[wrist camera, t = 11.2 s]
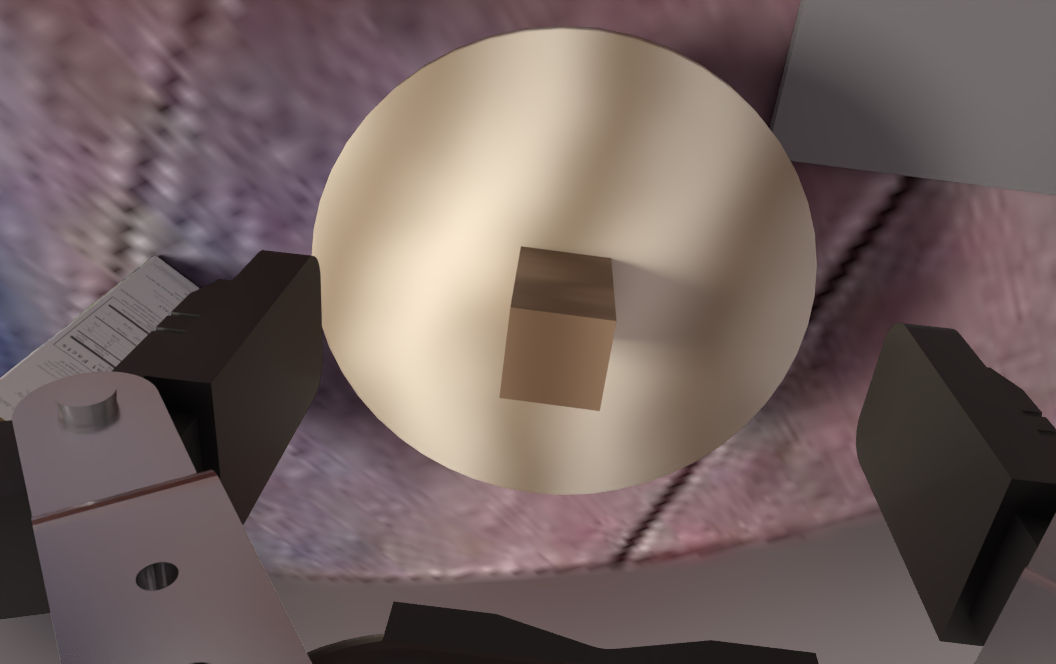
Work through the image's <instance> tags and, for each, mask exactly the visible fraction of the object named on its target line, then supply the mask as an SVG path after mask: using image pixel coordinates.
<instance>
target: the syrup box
mask: <svg viewBox="0 0 1056 664" xmlns="http://www.w3.org/2000/svg"><path fill="white" fill-rule="evenodd" d="M198 289H200V288H198V287H197V286H196V285H195V284H193V283H192V282H191V281H189V280H188V279H187V278H185V277H184V276H182V275H181V274H180V273H178V272H177V271H176V270H175V269H173V268H172V267H170V266H169V265H168V264H166V263H165V262H164V261H163V260H161V259H160V258H159V257H157V256H153V257H152V258H150V259H149V260H148V261H147V262H145V263H144V264H143V265H142V266H140V267H139V268H138V269H136V270H135V271H134V272H133V273H131V274H130V275H129V276H128V277H126V278H125V279H124V280H122V281H121V282H120V283H119V284H117V285H116V286H115V287H114V288H113V289H111V290H110V291H109V292H107V293H106V294H105V295H104V296H103V297H101V298H100V299H99V300H98V301H96V302H95V303H94V304H92V305H91V306H90V307H89V308H88V309H86V310H85V311H84V312H83V313H81V314H80V315H79V316H78V317H76V318H75V319H74V320H73V321H71V322H70V323H69V324H68V325H67V326H65V327H64V328H63V329H62V330H61V331H59V332H58V333H57V334H55V335H54V336H53V337H51V338H50V339H49V340H47V341H46V342H45V343H44V344H42V345H41V346H40V347H39V348H37V349H36V350H35V351H33V352H32V353H31V354H30V355H29V356H27V357H26V358H25V359H24V360H22V361H21V362H20V363H19V364H17V365H16V366H15V367H14V368H12V369H11V370H10V371H9V372H7V373H6V374H5V375H4V376H2V377H1V378H0V421H8V420H12V414H13V412H14V409H15V407H16V406H17V404H18V403H19V402H20V401H21V400H22V399H23V398H24V397H25V396H26V395H28V394H29V393H31V392H32V391H33V390H35V389H37V388H39V387H41V386H43V385H45V384H47V383H50V382H52V381H55V380H58V379H61V378H64V377H68V376H72V375H76V374H82V373H89V372H101V371H108V372H111V371H112V370H113V369H114V368H115V367H116V366H117V365H118V364H119V363H120V362H121V361H122V360H123V359H124V358H125V357H126V356H127V355H128V354H129V353H130V352H131V351H132V350H133V349H134V348H135V347H136V346H137V345H138V344H139V343H140V342H141V341H142V340H143V339H144V338H145V337H146V336H147V335H148V334H149V333H150V332H151V331H156V326H157V325H158V324H159V323H160V322H161V321H162V320H163V319H164V318H165V317H166V316H167V315H169V316H171V311H172V310H173V309H174V308H175V307H177V306H178V305H179V304H180V303H181V302H182V301H183V300H184V299H185V298H186V297H187V296H188V295H189V294H190V293H192V292H194V291H196V290H198Z"/></svg>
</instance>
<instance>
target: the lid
mask: <svg viewBox="0 0 1056 664" xmlns="http://www.w3.org/2000/svg"><path fill="white" fill-rule="evenodd" d="M312 256H315V257H316V258H317V260H318V262H319V266H320V274H321V307H322V328H323V331H324V333H325V336H326V339H327V342H328V345H329V347H330V349H331V351H332V353H333V355H334V357H335V359H336V361H337V363H338V365H339V367H340V369H341V371H342V373H343V374H344V376H345V377H346V379H347V380H348V382H349V383H350V384H351V386H352V387H353V389H354V390H355V392H356V393H357V395H358V396H359V397H360V399H361V400H362V401H363V402H364V403H365V404H366V405H367V407H368V408H369V409H370V410H371V411H372V412H373V413H374V415H375V416H376V417H377V418H378V419H379V420H380V421H381V422H383V423H384V424H385V425H386V426H387V427H388V428H389V429H390V430H391V431H393V432H394V433H395V434H396V435H397V436H398V437H399V438H401V439H402V440H404V441H405V442H406V443H408V444H409V445H411V446H412V447H413V448H415V449H416V450H418V451H419V452H420V453H422V454H423V455H425V456H427V457H429V458H431V459H432V460H434V461H436V462H438V463H440V464H442V465H443V466H445V467H447V468H449V469H452V470H454V471H456V472H459V473H461V474H463V475H466V476H468V477H471V478H473V479H476V480H479V481H483V482H486V483H489V484H493V485H496V486H500V487H504V488H509V489H514V490H520V491H525V492H532V493H544V494H557V495H563V494H590V493H598V492H605V491H612V490H618V489H622V488H627V487H631V486H635V485H639V484H643V483H646V482H649V481H652V480H654V479H657V478H660V477H663V476H665V475H668V474H671V473H673V472H675V471H677V470H679V469H681V468H683V467H685V466H687V465H689V464H691V463H693V462H695V461H697V460H699V459H701V458H702V457H704V456H705V455H707V454H708V453H710V452H711V451H713V450H715V449H716V448H718V447H719V446H721V445H722V444H724V443H725V442H726V441H727V440H728V439H730V438H731V437H732V436H733V435H734V434H736V433H737V432H738V431H739V430H740V429H742V428H743V427H744V426H745V425H746V424H747V423H748V422H749V421H750V420H751V419H752V418H753V417H754V416H755V415H756V414H757V413H758V411H759V410H760V409H761V408H762V407H763V406H764V405H765V404H766V403H767V401H768V400H769V399H770V397H771V396H772V394H773V393H774V392H775V390H776V389H777V388H778V386H779V385H780V383H781V382H782V381H783V379H784V377H785V375H786V373H787V372H788V370H789V368H790V366H791V364H792V362H793V361H794V359H795V357H796V355H797V353H798V350H799V348H800V345H801V342H802V340H803V337H804V335H805V332H806V329H807V327H808V323H809V318H810V314H811V310H812V305H813V301H814V296H815V284H816V272H817V258H816V242H815V232H814V227H813V223H812V218H811V214H810V209H809V204H808V201H807V198H806V196H805V193H804V190H803V188H802V185H801V182H800V180H799V177H798V175H797V172H796V170H795V168H794V167H793V165H792V163H791V161H790V159H789V158H788V156H787V154H786V152H785V151H784V149H783V147H782V145H781V143H780V142H779V141H778V139H777V138H776V137H775V135H774V134H773V133H772V131H771V130H770V129H769V128H768V126H767V125H766V124H765V122H764V121H763V120H762V119H761V117H760V116H759V115H758V113H757V112H756V111H755V110H754V109H753V108H752V107H751V106H750V105H749V104H748V103H747V102H746V101H745V100H744V99H743V98H742V97H741V96H740V95H739V94H738V93H737V92H736V91H735V90H734V89H733V88H732V87H731V86H730V85H729V84H727V83H726V82H724V81H723V80H722V79H720V78H719V77H717V76H716V75H715V74H713V73H712V72H711V71H709V70H708V69H706V68H705V67H704V66H702V65H701V64H699V63H697V62H695V61H693V60H691V59H690V58H688V57H686V56H684V55H682V54H680V53H678V52H676V51H674V50H672V49H670V48H668V47H666V46H663V45H660V44H657V43H654V42H652V41H649V40H646V39H643V38H640V37H638V36H635V35H630V34H625V33H620V32H616V31H611V30H606V29H601V28H590V27H575V26H551V27H538V28H525V29H520V30H516V31H511V32H507V33H502V34H497V35H493V36H489V37H486V38H483V39H481V40H478V41H475V42H473V43H470V44H467V45H464V46H462V47H459V48H456V49H454V50H453V51H451V52H449V53H447V54H445V55H443V56H441V57H439V58H438V59H436V60H434V61H432V62H430V63H428V64H426V65H425V66H423V67H422V68H421V69H419V70H418V71H417V72H415V73H414V74H413V75H411V76H410V77H408V78H407V79H406V80H404V81H403V82H402V83H400V84H399V85H398V86H397V87H396V88H395V89H394V90H393V91H392V92H391V93H390V94H389V95H387V96H386V97H385V98H384V99H383V100H382V101H381V102H380V103H379V104H378V105H377V106H376V107H375V108H374V109H373V110H372V111H371V112H370V113H369V114H368V115H367V117H366V118H365V119H364V121H363V122H362V123H361V125H360V126H359V127H358V128H357V130H356V131H355V132H354V134H353V135H352V136H351V138H350V139H349V140H348V142H347V143H346V145H345V147H344V149H343V151H342V152H341V154H340V156H339V158H338V160H337V161H336V163H335V165H334V167H333V169H332V170H331V173H330V176H329V178H328V181H327V184H326V186H325V189H324V192H323V194H322V197H321V199H320V204H319V208H318V213H317V217H316V222H315V226H314V232H313V246H312Z"/></svg>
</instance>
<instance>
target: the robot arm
mask: <svg viewBox="0 0 1056 664" xmlns="http://www.w3.org/2000/svg"><path fill="white" fill-rule="evenodd" d="M322 362H323V343H322V307H321V274H320V266H319V262H318V260H317V258H316V257H315V256H310V255H301V254H292V253H283V252H274V251H265V250H262V251H260V252H259V253H258V254H257V255H256V256H255V257H254V258H253V259H252V260H251V261H250V262H249V263H248V264H247V265H246V266H245V268H244V269H243V270H242V271H241V272H240V273H239V274H238V275H237V276H236V277H235V278H234V279H233V280H232V281H231V280H222V279H220V280H218V281H216V282H213V283H211V284H209V285H207V286H205V287H203V288H200V289H198V290H196V291H194V292H192V293H190V294H189V295H188V296H187V297H186V298H185V299H184V300H183V301H182V302H181V303H180V304H179V305H178V306H177V307H175V308H174V309H173V310H172V311H171V316H169V315H167V316H166V317H165V318H164V319H163V320H162V321H161V322H160V323H159V324H158V325H157V326H156V331H151V332H150V333H149V334H148V335H147V336H146V337H145V338H144V339H143V340H142V341H141V342H140V343H139V344H138V345H137V346H136V347H135V348H134V349H133V350H132V351H131V352H130V353H129V354H128V355H127V356H126V357H125V358H124V359H123V360H122V361H121V362H120V363H119V364H118V365H117V366H116V367H115V368H114V369H113V370H112V371H111V372H108V371H101V372H89V373H82V374H76V375H72V376H68V377H64V378H61V379H58V380H55V381H52V382H50V383H47V384H45V385H43V386H41V387H39V388H37V389H35V390H33V391H32V392H31V393H29V394H28V395H26V396H25V397H24V398H23V399H22V400H21V401H20V402H19V403H18V404H17V406H16V407H15V409H14V412H13V414H12V420H8V421H0V619H6V618H14V617H22V616H29V615H37V614H45V613H51V617H52V622H53V627H54V632H55V636H56V642H57V646H58V651H59V655H60V661H61V664H818V660H817V657H816V653H810V652H802V651H794V650H786V649H778V648H770V647H761V646H753V645H744V644H737V643H728V642H720V641H712V640H710V641H699V642H687V643H676V644H666V645H654V646H643V647H632V648H621V649H602V648H596V647H593V646H589V645H587V644H583V643H581V642H578V641H575V640H572V639H569V638H566V637H563V636H560V635H557V634H554V633H551V632H548V631H545V630H542V629H539V628H536V627H533V626H530V625H527V624H524V623H521V622H518V621H515V620H512V619H509V618H506V617H503V616H500V615H497V614H491V613H483V612H474V611H467V610H458V609H449V608H441V607H434V606H426V605H417V604H409V603H401V602H393V606H392V609H391V613H390V616H389V620H388V623H387V626H386V630H385V633H384V634H378V635H369V636H363V637H358V638H353V639H348V640H343V641H340V642H337V643H334V644H330V645H327V646H323V647H320V648H318V649H315V650H313V651H310V652H308V653H307V652H306V650H305V648H304V646H303V644H302V642H301V640H300V639H299V636H298V635H297V632H296V631H295V628H294V627H293V624H292V622H291V621H290V619H289V617H288V615H287V613H286V611H285V609H284V607H283V605H282V603H281V601H280V599H279V597H278V595H277V593H276V591H275V589H274V587H273V585H272V583H271V581H270V579H269V577H268V575H267V573H266V571H265V569H264V567H263V565H262V563H261V561H260V559H259V557H258V555H257V553H256V551H255V549H254V547H253V545H252V543H251V541H250V539H249V537H248V535H247V533H246V531H245V529H244V527H243V525H244V523H245V521H246V519H247V517H248V516H249V514H250V512H251V510H252V508H253V507H254V505H255V503H256V501H257V499H258V498H259V496H260V494H261V492H262V491H263V489H264V487H265V485H266V483H267V482H268V480H269V478H270V476H271V474H272V473H273V471H274V469H275V467H276V465H277V464H278V462H279V460H280V458H281V457H282V455H283V453H284V451H285V449H286V448H287V446H288V444H289V442H290V440H291V439H292V437H293V435H294V433H295V431H296V430H297V428H298V426H299V424H300V423H301V421H302V419H303V417H304V415H305V414H306V412H307V410H308V408H309V406H310V405H311V403H312V401H313V399H314V397H315V395H316V392H317V390H318V386H319V382H320V377H321V371H322ZM856 449H857V456H858V460H859V463H860V465H861V467H862V470H863V472H864V474H865V476H866V478H867V481H868V483H869V485H870V487H871V490H872V492H873V494H874V496H875V498H876V501H877V503H878V505H879V507H880V509H881V512H882V514H883V516H884V518H885V521H886V523H887V525H888V527H889V529H890V531H891V534H892V536H893V538H894V540H895V543H896V545H897V547H898V549H899V552H900V554H901V556H902V558H903V560H904V562H905V565H906V567H907V569H908V571H909V574H910V576H911V578H912V580H913V582H914V585H915V587H916V589H917V591H918V594H919V595H920V598H921V600H922V602H923V605H924V607H925V609H926V611H927V613H928V616H929V618H930V620H931V622H932V624H933V627H934V629H935V631H936V633H937V635H938V638H939V640H940V641H944V642H953V643H961V644H969V645H977V646H983V648H982V650H981V652H980V654H979V656H978V658H977V660H976V662H975V664H1056V429H1055V427H1054V426H1053V425H1052V424H1051V423H1050V422H1049V420H1048V419H1047V418H1046V417H1042V412H1041V411H1040V410H1039V409H1038V407H1037V406H1036V405H1035V404H1034V403H1033V401H1032V400H1031V399H1030V398H1029V397H1028V395H1027V394H1026V393H1025V392H1024V391H1023V390H1022V389H1021V388H1019V387H1018V386H1016V385H1015V384H1014V383H1012V382H1011V381H1009V380H1008V379H1006V378H1005V377H1003V376H1002V375H1000V374H999V373H997V372H996V371H994V370H993V369H991V368H987V367H986V366H985V365H984V364H983V362H982V361H981V360H980V359H979V357H978V356H977V355H976V354H975V352H974V351H973V350H972V349H971V347H970V346H969V345H968V344H967V342H966V341H965V340H964V339H963V338H962V336H961V335H960V334H959V333H958V332H957V331H956V330H954V329H949V328H940V327H931V326H922V325H913V324H904V323H897V324H895V325H893V326H892V328H891V329H890V330H889V332H888V333H887V336H886V338H885V340H884V343H883V346H882V349H881V352H880V355H879V359H878V362H877V365H876V368H875V371H874V374H873V377H872V380H871V383H870V386H869V389H868V392H867V395H866V399H865V402H864V405H863V408H862V411H861V414H860V417H859V421H858V426H857V434H856Z"/></svg>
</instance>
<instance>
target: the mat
mask: <svg viewBox="0 0 1056 664" xmlns="http://www.w3.org/2000/svg"><path fill="white" fill-rule="evenodd" d="M769 129H770V130H771V131H772V133H773V134H774V135H775V137H776V138H777V139H778V141H779V142H780V143H781V145H782V147H783V149H784V151H785V152H786V154H787V156H788V158H789V159H790V161H795V162H803V163H811V164H818V165H826V166H834V167H842V168H849V169H857V170H865V171H872V172H880V173H888V174H896V175H903V176H911V177H919V178H927V179H934V180H942V181H950V182H957V183H965V184H973V185H981V186H988V187H996V188H1004V189H1011V190H1019V191H1027V192H1035V193H1042V194H1050V195H1056V0H801V3H800V7H799V11H798V15H797V19H796V23H795V27H794V31H793V35H792V39H791V43H790V47H789V51H788V55H787V59H786V63H785V67H784V71H783V75H782V79H781V84H780V88H779V92H778V96H777V100H776V104H775V108H774V112H773V116H772V120H771V124H770V128H769Z"/></svg>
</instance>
